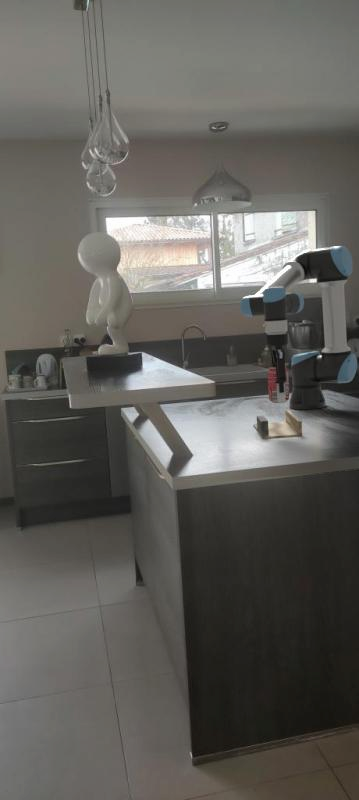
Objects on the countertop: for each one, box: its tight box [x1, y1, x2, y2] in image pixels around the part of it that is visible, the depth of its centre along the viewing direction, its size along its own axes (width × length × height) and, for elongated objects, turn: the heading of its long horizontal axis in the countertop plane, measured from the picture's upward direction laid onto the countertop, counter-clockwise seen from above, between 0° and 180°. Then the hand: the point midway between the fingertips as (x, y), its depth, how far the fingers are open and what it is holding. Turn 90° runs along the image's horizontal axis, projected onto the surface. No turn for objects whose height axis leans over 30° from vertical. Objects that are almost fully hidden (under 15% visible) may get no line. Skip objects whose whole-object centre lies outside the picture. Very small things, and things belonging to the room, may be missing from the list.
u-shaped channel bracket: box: [253, 409, 303, 440], centre depth 206 cm, size 13×22×6 cm, turn 1°
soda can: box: [267, 365, 290, 404], centre depth 199 cm, size 7×7×12 cm
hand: (279, 400), depth 199 cm, fingers closed on soda can, 7 cm apart
